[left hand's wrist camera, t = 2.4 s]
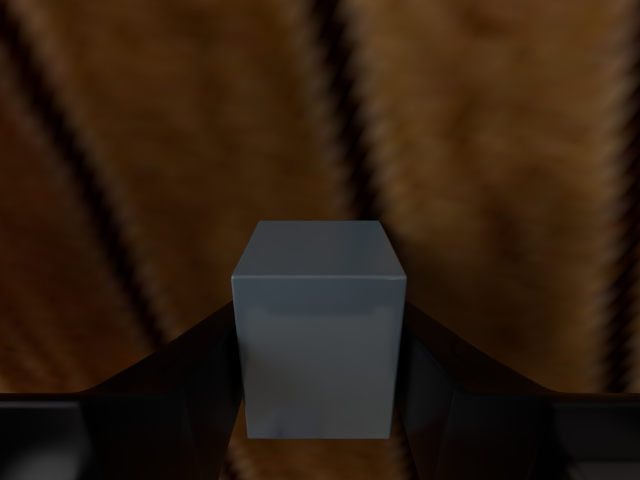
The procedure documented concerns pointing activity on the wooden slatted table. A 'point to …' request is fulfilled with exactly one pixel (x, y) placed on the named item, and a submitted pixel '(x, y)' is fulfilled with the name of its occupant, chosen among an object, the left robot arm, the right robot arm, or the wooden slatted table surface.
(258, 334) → the brick
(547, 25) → the wooden slatted table surface
